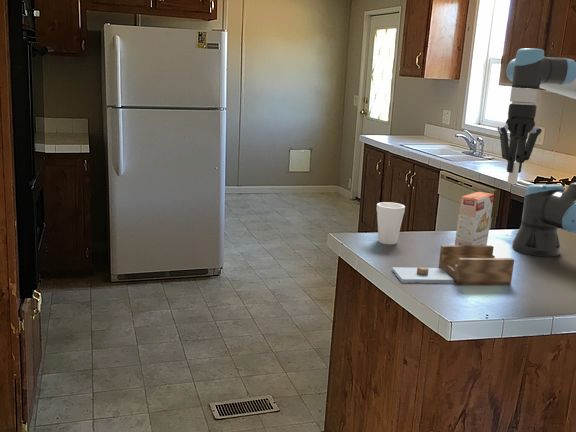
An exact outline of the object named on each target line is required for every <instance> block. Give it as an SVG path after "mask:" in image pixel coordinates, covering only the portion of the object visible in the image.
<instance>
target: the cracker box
mask: <svg viewBox="0 0 576 432" xmlns="http://www.w3.org/2000/svg"><path fill="white" fill-rule="evenodd" d="M494 198H495V194H494V193H488V192H483V191H475V192H471V193H469V194H465V195H463V196H461V197H460V203H459V210H458V216H457V225H456V232H455V233H456V234H455V239H454V245H485V246H488V238H489V233H490V226H491V218H492V211H493V206H494Z"/></svg>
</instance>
